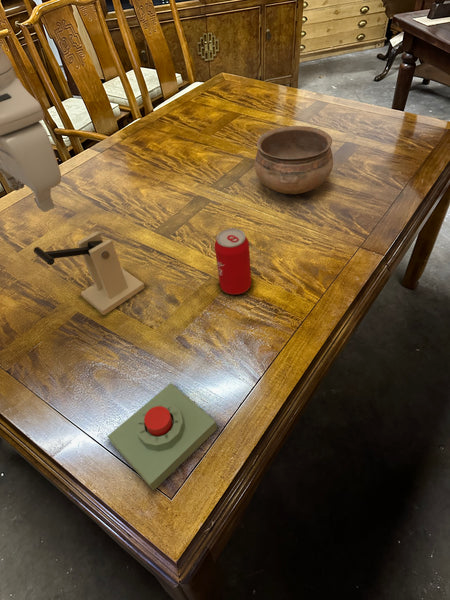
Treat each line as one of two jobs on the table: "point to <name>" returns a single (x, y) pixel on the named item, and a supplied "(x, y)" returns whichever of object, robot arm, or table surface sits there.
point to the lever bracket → (107, 276)
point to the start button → (158, 420)
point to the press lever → (65, 252)
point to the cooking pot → (294, 159)
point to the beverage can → (233, 261)
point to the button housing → (163, 436)
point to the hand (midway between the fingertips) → (31, 197)
